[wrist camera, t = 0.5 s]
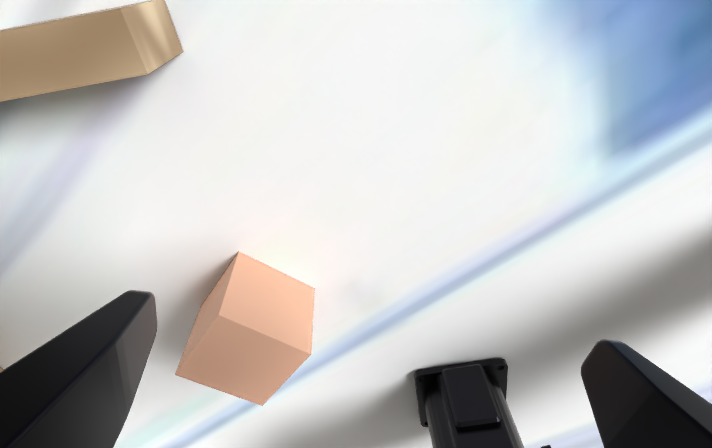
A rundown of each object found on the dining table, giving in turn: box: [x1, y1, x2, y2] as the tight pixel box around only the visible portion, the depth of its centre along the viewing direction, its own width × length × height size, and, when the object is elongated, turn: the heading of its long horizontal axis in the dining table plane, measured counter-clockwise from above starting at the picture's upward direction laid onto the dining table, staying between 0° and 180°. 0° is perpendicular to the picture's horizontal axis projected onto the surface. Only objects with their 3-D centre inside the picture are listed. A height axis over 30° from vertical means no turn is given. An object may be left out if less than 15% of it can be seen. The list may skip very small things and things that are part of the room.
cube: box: [175, 252, 315, 406], centre depth 23 cm, size 5×5×5 cm
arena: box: [0, 0, 183, 372], centre depth 21 cm, size 21×21×4 cm
